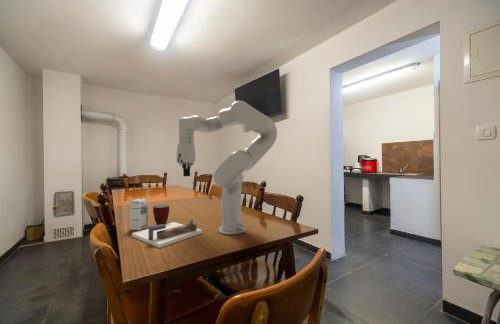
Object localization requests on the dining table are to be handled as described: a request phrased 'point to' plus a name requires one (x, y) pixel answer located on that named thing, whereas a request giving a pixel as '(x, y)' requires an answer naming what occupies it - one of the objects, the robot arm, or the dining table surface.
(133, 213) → the syrup box
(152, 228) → the block
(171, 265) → the dining table surface
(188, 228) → the walnut link
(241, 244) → the dining table surface
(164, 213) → the mug
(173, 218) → the dining table surface
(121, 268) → the dining table surface
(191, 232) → the pintle board
